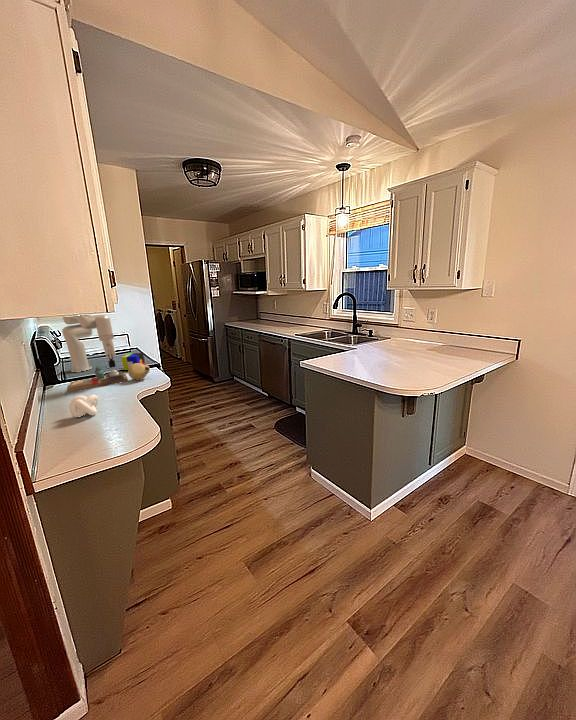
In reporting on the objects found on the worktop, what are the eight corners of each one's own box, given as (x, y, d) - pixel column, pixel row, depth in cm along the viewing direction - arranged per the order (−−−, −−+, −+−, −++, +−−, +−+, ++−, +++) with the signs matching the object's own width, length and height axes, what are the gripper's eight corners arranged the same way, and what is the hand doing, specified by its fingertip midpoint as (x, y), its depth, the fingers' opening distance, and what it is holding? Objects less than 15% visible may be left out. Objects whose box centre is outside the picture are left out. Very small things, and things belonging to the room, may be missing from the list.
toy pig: (152, 379, 195) (149, 363, 192) (130, 383, 190) (127, 366, 187) (150, 375, 203) (147, 359, 200) (129, 379, 198) (126, 362, 195)
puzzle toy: (138, 370, 216) (136, 356, 213) (124, 371, 216) (121, 357, 213) (145, 366, 225) (143, 352, 223) (131, 367, 226) (129, 353, 223)
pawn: (96, 377, 199) (94, 366, 197) (104, 376, 201) (102, 365, 199) (96, 379, 195) (93, 367, 193) (104, 378, 197) (102, 366, 195)
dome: (109, 376, 195) (107, 369, 194) (119, 374, 198) (117, 367, 197) (109, 378, 191) (108, 371, 190) (120, 376, 193) (118, 369, 192)
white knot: (66, 422, 142) (61, 403, 140) (77, 411, 154) (73, 394, 151) (93, 418, 144) (89, 400, 142) (103, 408, 156) (99, 391, 153)
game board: (71, 384, 195) (69, 377, 194) (125, 374, 210) (123, 367, 208) (69, 392, 180) (67, 385, 179) (128, 381, 195) (126, 374, 194)
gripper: (114, 337, 183) (120, 368, 188) (112, 334, 196) (118, 363, 201) (99, 340, 180) (106, 371, 185) (98, 336, 192) (105, 365, 197)
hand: (112, 366), depth 193 cm, fingers closed
